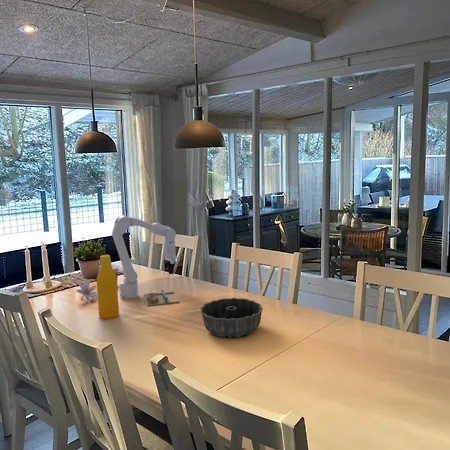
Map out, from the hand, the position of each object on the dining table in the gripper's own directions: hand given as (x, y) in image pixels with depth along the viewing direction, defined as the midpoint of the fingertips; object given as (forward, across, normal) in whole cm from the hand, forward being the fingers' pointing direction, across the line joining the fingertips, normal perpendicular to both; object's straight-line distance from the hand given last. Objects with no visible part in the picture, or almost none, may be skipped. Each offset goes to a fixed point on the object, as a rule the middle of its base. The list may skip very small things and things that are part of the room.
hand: (171, 273), depth 240 cm
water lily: (+11, +1, +44) cm, 45 cm away
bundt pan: (+11, -62, -16) cm, 65 cm away
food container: (+11, +26, +34) cm, 44 cm away
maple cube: (+10, -13, +13) cm, 21 cm away
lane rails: (+10, -13, +8) cm, 18 cm away
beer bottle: (+11, -27, +34) cm, 45 cm away
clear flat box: (+10, -13, +11) cm, 20 cm away
